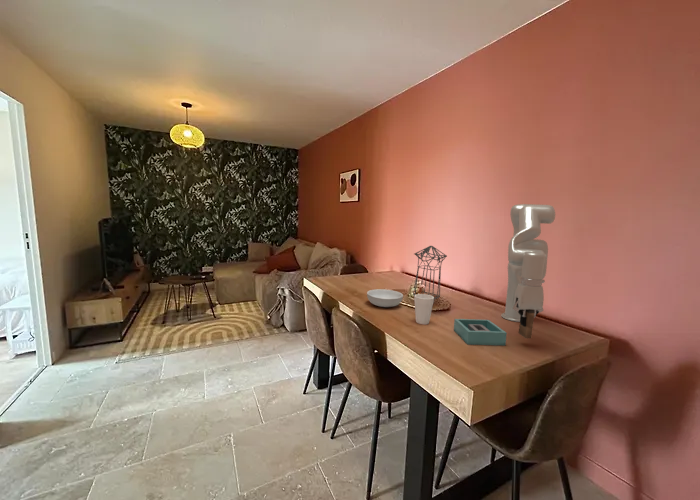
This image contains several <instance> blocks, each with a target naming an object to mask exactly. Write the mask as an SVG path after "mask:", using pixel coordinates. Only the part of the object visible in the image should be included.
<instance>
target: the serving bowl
mask: <svg viewBox="0 0 700 500" xmlns="http://www.w3.org/2000/svg"><path fill="white" fill-rule="evenodd" d="M366 296H367V299H368V301H369V302H370V303H371V304H372V305H375V306H378V307H381V308H391V307H397V306H398V305H399V304H401V302H403V298H404V295H403V293H402V292H400V291H396V290H392V289H385V288H383V289H382V288H379V289H377V288H376V289H370V290H367V292H366Z"/></svg>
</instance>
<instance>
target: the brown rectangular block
mask: <svg viewBox="0 0 700 500" xmlns="http://www.w3.org/2000/svg"><path fill="white" fill-rule="evenodd" d="M534 314H535V310H527V311H526V317H527V319H526V327H524V326H522V325H521V324H520V323H519V326H518V327H519V328H518V334H519V335H521V337H523V338H524V339H532V334H533V333H532V332H533V328H534V322H533V321H535V317H534Z"/></svg>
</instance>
